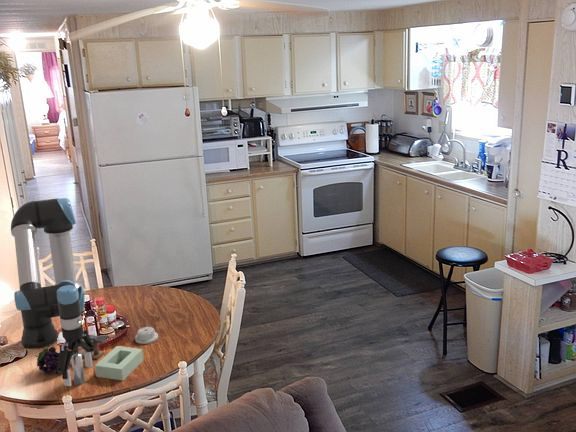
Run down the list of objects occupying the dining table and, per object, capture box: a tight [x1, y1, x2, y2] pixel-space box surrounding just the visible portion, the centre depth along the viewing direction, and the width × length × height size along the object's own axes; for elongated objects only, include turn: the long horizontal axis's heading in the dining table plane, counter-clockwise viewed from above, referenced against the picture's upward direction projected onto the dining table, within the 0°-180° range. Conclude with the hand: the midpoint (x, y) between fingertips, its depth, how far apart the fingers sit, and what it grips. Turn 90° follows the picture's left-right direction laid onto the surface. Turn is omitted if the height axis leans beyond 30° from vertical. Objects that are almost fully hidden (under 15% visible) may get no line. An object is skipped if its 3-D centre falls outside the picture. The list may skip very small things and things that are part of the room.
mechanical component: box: [134, 326, 159, 345], centre depth 251 cm, size 10×4×10 cm
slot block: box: [94, 345, 145, 381], centre depth 227 cm, size 12×16×5 cm
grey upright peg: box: [70, 352, 86, 386], centre depth 217 cm, size 4×4×12 cm
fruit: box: [34, 345, 61, 374], centre depth 227 cm, size 10×11×15 cm
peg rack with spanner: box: [74, 334, 110, 361], centre depth 237 cm, size 18×5×9 cm, turn 74°
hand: (78, 375), depth 218 cm, fingers open, 13 cm apart
